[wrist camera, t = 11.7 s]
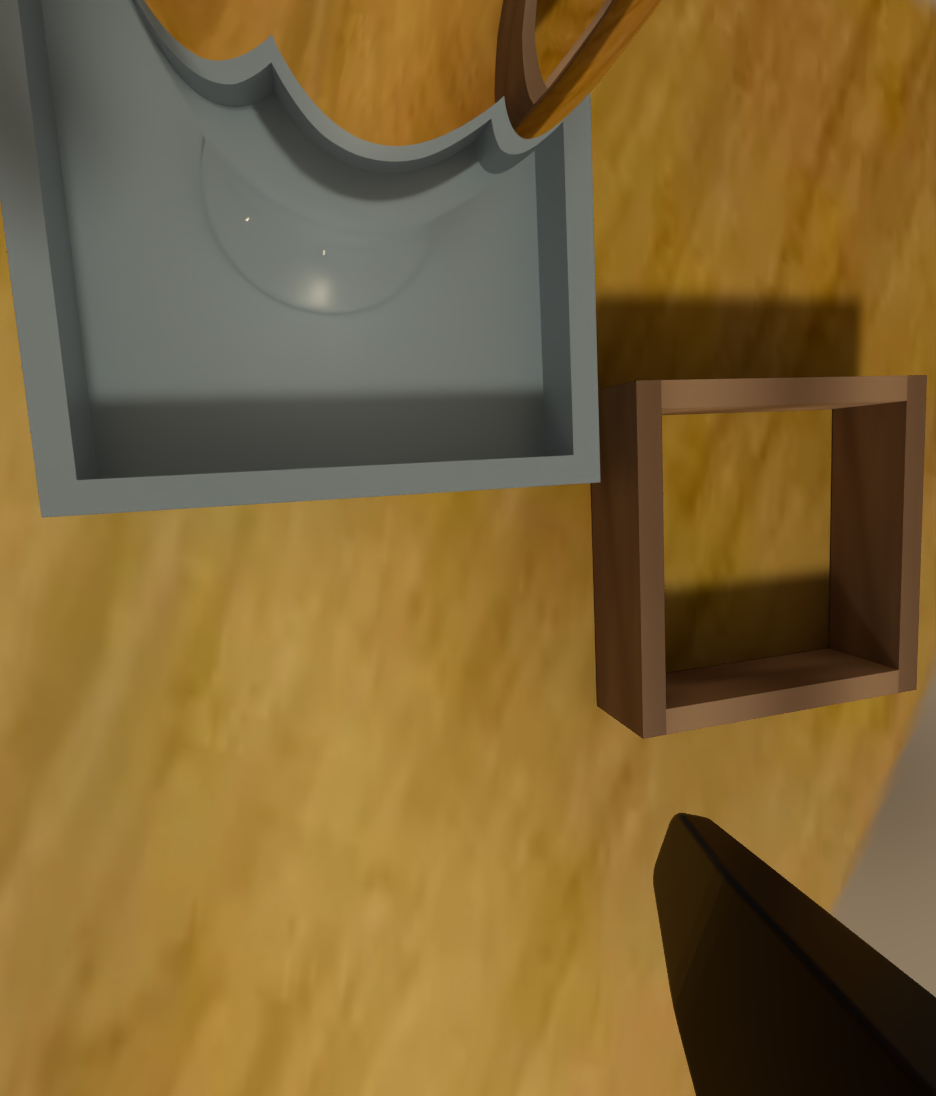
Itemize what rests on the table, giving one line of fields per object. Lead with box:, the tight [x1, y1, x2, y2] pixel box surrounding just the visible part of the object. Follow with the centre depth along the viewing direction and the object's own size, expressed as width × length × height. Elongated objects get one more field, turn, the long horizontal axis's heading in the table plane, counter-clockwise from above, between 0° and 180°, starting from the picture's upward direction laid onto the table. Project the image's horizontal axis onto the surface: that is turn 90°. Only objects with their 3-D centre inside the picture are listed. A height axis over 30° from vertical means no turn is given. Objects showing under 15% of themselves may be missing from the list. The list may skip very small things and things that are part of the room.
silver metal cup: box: [129, 0, 662, 314], centre depth 11 cm, size 7×7×15 cm
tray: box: [0, 0, 600, 517], centre depth 18 cm, size 14×16×3 cm
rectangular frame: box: [591, 375, 927, 739], centre depth 23 cm, size 11×11×3 cm
